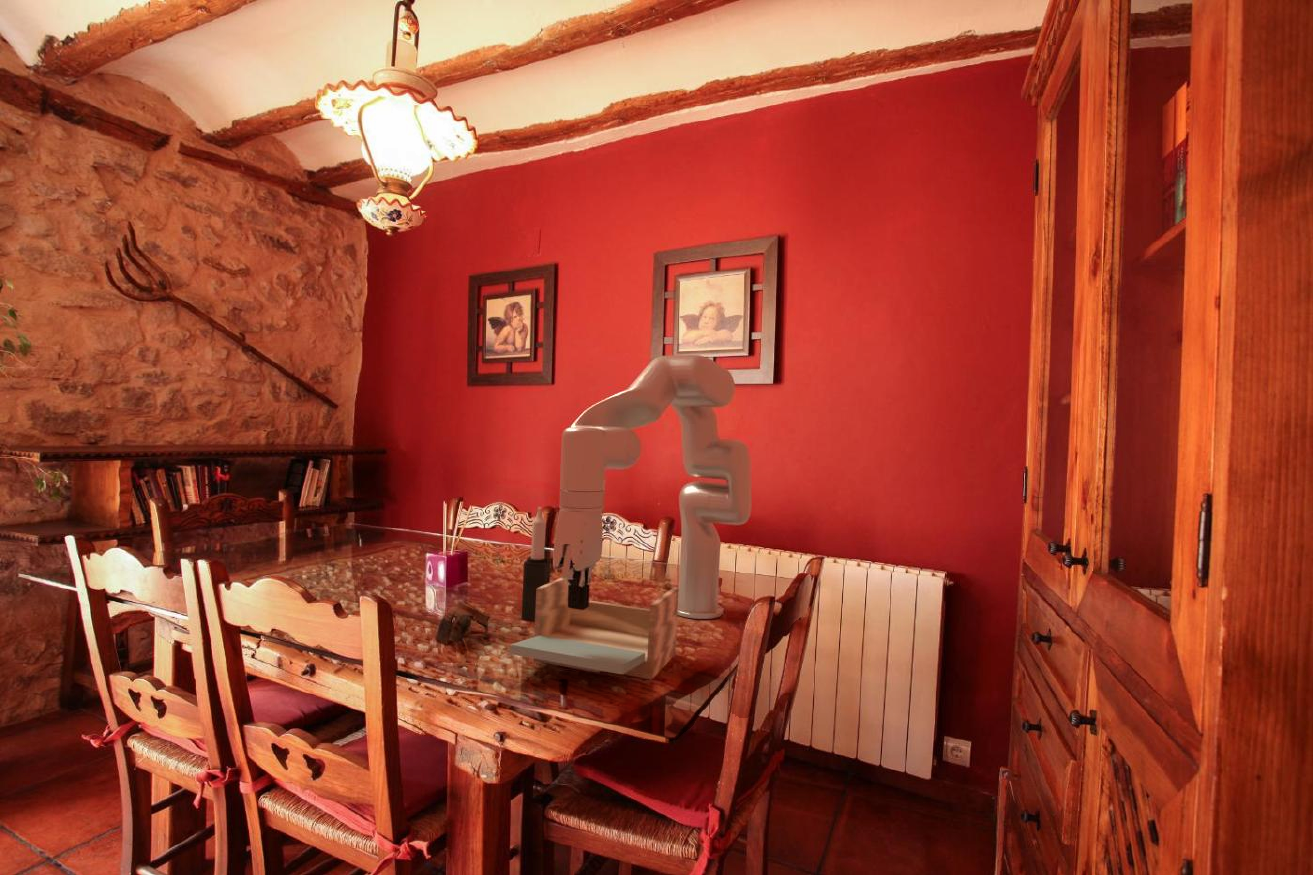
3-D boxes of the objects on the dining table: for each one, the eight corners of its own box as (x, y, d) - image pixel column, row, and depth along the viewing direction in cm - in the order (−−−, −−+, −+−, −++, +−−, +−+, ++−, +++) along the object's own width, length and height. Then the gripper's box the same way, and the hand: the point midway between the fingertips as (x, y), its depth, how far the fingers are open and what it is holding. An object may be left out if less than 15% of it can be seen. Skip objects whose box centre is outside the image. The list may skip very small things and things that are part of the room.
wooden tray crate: (567, 636, 130) (570, 573, 130) (675, 654, 122) (678, 587, 122) (533, 658, 117) (536, 588, 117) (651, 679, 109) (655, 605, 109)
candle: (541, 621, 138) (546, 509, 138) (519, 619, 139) (524, 507, 139) (549, 615, 143) (554, 506, 143) (528, 613, 144) (533, 504, 144)
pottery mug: (433, 634, 128) (454, 597, 131) (475, 655, 129) (495, 617, 132) (428, 638, 117) (452, 597, 120) (474, 661, 118) (496, 619, 121)
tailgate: (540, 635, 116) (510, 644, 106) (645, 652, 109) (623, 664, 99) (539, 646, 116) (508, 657, 106) (644, 665, 109) (621, 678, 99)
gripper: (581, 494, 114) (577, 594, 115) (540, 503, 100) (536, 617, 101) (619, 497, 112) (615, 599, 112) (582, 507, 98) (578, 623, 98)
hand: (578, 607), depth 107 cm, fingers closed
